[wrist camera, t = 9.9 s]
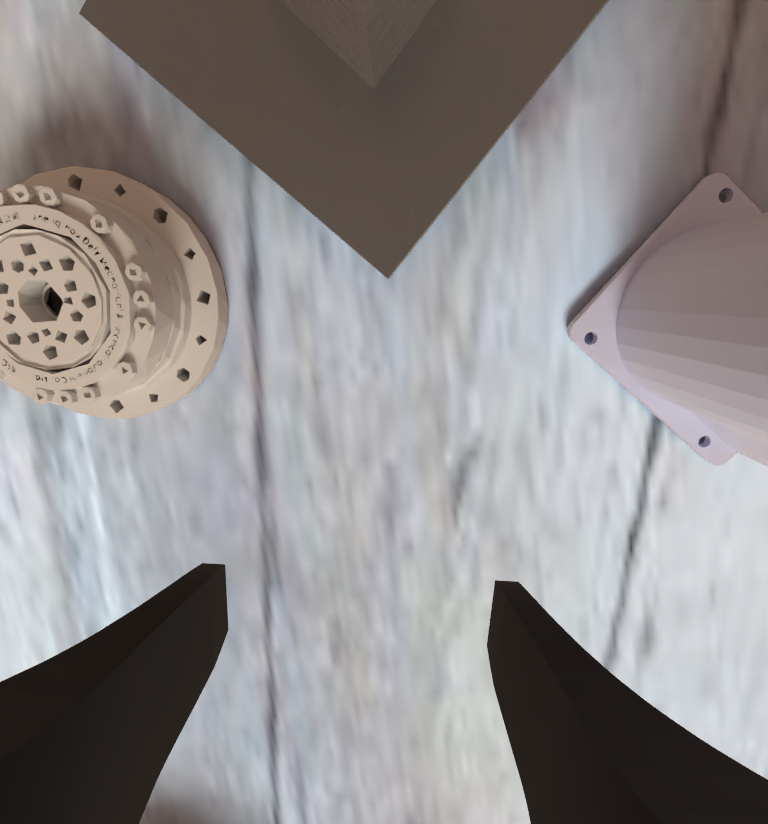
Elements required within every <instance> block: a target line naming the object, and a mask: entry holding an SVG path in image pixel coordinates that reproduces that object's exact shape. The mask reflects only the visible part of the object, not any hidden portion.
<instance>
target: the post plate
mask: <svg viewBox="0 0 768 824" xmlns="http://www.w3.org/2000/svg"><path fill="white" fill-rule="evenodd" d="M608 1H609V0H437V1H436V2H435V3H434V5H433V6H432V8H431V9H430V11H429V12H428V13H427V15H426V16H425V18H424V19H423V20H422V22H421V23H420V25H419V26H418V27H417V29H416V30H415V32H414V33H413V35H412V36H411V37H410V39H409V40H408V42H407V43H406V44H405V46H404V47H403V49H402V50H401V52H400V53H399V54H398V56H397V57H396V59H395V60H394V61H393V63H392V64H391V66H390V67H389V69H388V70H387V71H386V73H385V74H384V76H383V77H382V78H381V80H380V81H379V83H378V84H377V85H376V87H375V88H372V87H371V86H370V85H369V84H368V83H367V82H366V81H365V80H364V79H363V78H362V77H361V76H360V75H359V74H358V73H356V72H355V71H354V70H353V69H352V68H351V67H350V66H349V65H348V64H347V63H346V62H345V61H344V60H343V59H341V58H340V57H339V56H338V55H337V54H336V53H335V52H334V51H333V50H332V49H331V48H330V47H329V46H328V45H327V44H325V43H324V42H323V41H322V40H321V39H320V38H319V37H318V36H317V35H316V34H315V33H314V32H313V31H312V30H311V29H309V28H308V27H307V26H306V25H305V24H304V23H303V22H302V21H301V20H300V19H299V18H298V17H297V16H296V15H294V14H293V13H292V12H291V11H290V10H289V9H288V8H287V7H286V6H285V5H284V4H283V3H282V2H281V1H280V0H86V1H85V3H84V5H83V7H82V9H81V11H80V14H81V15H82V16H83V17H84V18H85V19H86V20H88V21H89V22H90V23H91V24H92V25H93V26H94V27H95V28H97V29H98V30H99V31H100V32H101V33H102V34H103V35H105V36H106V37H107V38H108V39H109V40H110V41H112V42H113V43H114V44H115V45H116V46H117V47H119V48H120V49H121V50H122V51H123V52H124V53H126V54H127V55H128V56H129V57H130V58H131V59H133V60H134V61H135V62H136V63H137V64H138V65H140V66H141V67H142V68H143V69H144V70H145V71H147V72H148V73H149V74H150V75H151V76H152V77H154V78H155V79H156V80H157V81H158V82H159V83H161V84H162V85H163V86H164V87H165V88H166V89H167V90H169V91H170V92H171V93H172V94H173V95H174V96H176V97H177V98H178V99H179V100H180V101H181V102H183V103H184V104H185V105H186V106H187V107H188V108H190V109H191V110H192V111H193V112H194V113H195V114H197V115H198V116H199V117H200V118H201V119H202V120H204V121H205V122H206V123H207V124H208V125H209V126H211V127H212V128H213V129H214V130H215V131H216V132H218V133H219V134H220V135H221V136H222V137H223V138H225V139H226V140H227V141H228V142H229V143H230V144H232V145H233V146H234V147H235V148H236V149H237V150H239V151H240V152H241V153H242V154H243V155H244V156H246V157H247V158H248V159H249V160H250V161H251V162H253V163H254V164H255V165H256V166H257V167H258V168H260V169H261V170H262V171H263V172H264V173H265V174H267V175H268V176H269V177H270V178H271V179H272V180H273V181H275V182H276V183H277V184H278V185H279V186H280V187H282V188H283V189H284V190H285V191H286V192H287V193H289V194H290V195H291V196H292V197H293V198H294V199H296V200H297V201H298V202H299V203H300V204H301V205H303V206H304V207H305V208H306V209H307V210H308V211H310V212H311V213H312V214H313V215H314V216H315V217H317V218H318V219H319V220H320V221H321V222H322V223H324V224H325V225H326V226H327V227H328V228H329V229H331V230H332V231H333V232H334V233H335V234H336V235H338V236H339V237H340V238H341V239H342V240H343V241H345V242H346V243H347V244H348V245H349V246H350V247H352V248H353V249H354V250H355V251H356V252H357V253H359V254H360V255H361V256H362V257H363V258H364V259H366V260H367V261H368V262H369V263H370V264H371V265H373V266H374V267H375V268H376V269H377V270H378V271H379V272H381V273H382V274H383V275H384V276H385V277H386V278H388V279H389V278H390V277H391V275H392V274H393V273H394V272H395V270H396V269H397V268H398V267H399V265H400V264H401V263H402V262H403V260H404V259H405V258H406V256H407V255H408V254H409V253H410V251H411V250H412V249H413V248H414V246H415V245H416V244H417V243H418V241H419V240H420V239H421V237H422V236H423V235H424V234H425V232H426V231H427V230H428V229H429V227H430V226H431V225H432V224H433V222H434V221H435V220H436V218H437V217H438V216H439V215H440V213H441V212H442V211H443V210H444V208H445V207H446V206H447V205H448V203H449V202H450V201H451V200H452V198H453V197H454V196H455V194H456V193H457V192H458V191H459V189H460V188H461V187H462V186H463V184H464V183H465V182H466V181H467V179H468V178H469V177H470V175H471V174H472V173H473V172H474V170H475V169H476V168H477V167H478V165H479V164H480V163H481V162H482V160H483V159H484V158H485V156H486V155H487V154H488V153H489V151H490V150H491V149H492V148H493V146H494V145H495V144H496V143H497V141H498V140H499V139H500V138H501V136H502V135H503V134H504V132H505V131H506V130H507V129H508V127H509V126H510V125H511V124H512V122H513V121H514V120H515V119H516V117H517V116H518V115H519V113H520V112H521V111H522V110H523V108H524V107H525V106H526V105H527V103H528V102H529V101H530V100H531V98H532V97H533V96H534V94H535V93H536V92H537V91H538V89H539V88H540V87H541V86H542V84H543V83H544V82H545V81H546V79H547V78H548V77H549V76H550V74H551V73H552V72H553V70H554V69H555V68H556V67H557V65H558V64H559V63H560V62H561V60H562V59H563V58H564V57H565V55H566V54H567V53H568V51H569V50H570V49H571V48H572V46H573V45H574V44H575V43H576V41H577V40H578V39H579V38H580V36H581V35H582V34H583V32H584V31H585V30H586V29H587V27H588V26H589V25H590V24H591V22H592V21H593V20H594V19H595V17H596V16H597V15H598V14H599V12H600V11H601V10H602V8H603V7H604V6H605V5H606V3H607V2H608Z"/></svg>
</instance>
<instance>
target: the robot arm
mask: <svg viewBox="0 0 768 824" xmlns="http://www.w3.org/2000/svg"><path fill="white" fill-rule="evenodd" d="M721 190H722V191H724V192H725V194H726V198H725V200H724V202H721V201H720V200H719V193H720V192H721ZM589 332H592V334H593V340H592V342H590V343H589V344H586V342H585V341H584V339H585V336H586V334H587V333H589ZM567 334H568V337H569V338H570V339H571V340H572V341H573V342H574V343H575V344H576V345H577V346H578V347H580V348H581V349H582V350H583V351H584V352H585V353H586V354H587V355H588V356H590V357H591V358H592V359H593V360H594V361H595V362H596V363H597V364H598V365H600V366H601V367H602V368H603V369H604V370H605V371H606V372H607V373H608V374H610V375H611V376H612V377H613V378H614V379H615V380H616V381H617V382H618V383H620V384H621V385H622V386H623V387H624V388H625V389H626V390H627V391H628V392H630V393H631V394H632V395H633V396H634V397H635V398H636V399H637V400H638V401H640V402H641V403H642V404H643V405H644V406H645V407H646V408H647V409H648V410H650V411H651V412H652V413H653V414H654V415H655V416H656V417H657V418H658V419H660V420H661V421H662V422H663V423H664V424H665V425H666V426H667V427H668V428H670V429H671V430H672V431H673V432H674V433H675V434H676V435H677V436H678V437H680V438H681V439H682V440H683V441H684V442H685V443H686V444H687V445H688V446H690V447H691V448H692V449H693V450H694V451H695V452H696V453H697V454H698V455H700V456H701V457H702V458H703V459H704V460H705V461H707V462H708V463H710V464H712V465H715V466H720V465H723V464H725V463H726V462H727V461H729V460H730V459H731V458H732V457H733V456H734V455H735V454H736V453H737V452H738V453H740V454H742V455H744V456H746V457H748V458H751V459H753V460H755V461H757V462H759V463H761V464H763V465H766V466H768V212H765V213H763V212H762V211H761V210H760V209H759V208H758V207H757V206H756V205H755V204H754V203H753V202H752V201H751V200H750V199H749V198H748V197H747V196H746V195H745V194H744V193H743V192H742V191H741V190H740V189H739V187H738V186H737V185H736V184H735V183H734V182H733V181H732V180H731V179H730V178H729V177H728V176H727V175H726V174H724V173H721V172H716V173H713V174H710V175H708V176H706V177H705V178H703V179H702V180H701V181H700V182H699V183H698V185H697V186H696V187H695V188H694V189H693V190H692V191H691V192H690V193H689V194H688V195H687V197H686V198H685V199H684V200H683V201H682V202H681V203H680V204H679V205H678V206H677V207H676V208H675V210H674V211H673V212H672V213H671V214H670V215H669V216H668V217H667V218H666V219H665V220H664V221H663V223H662V224H661V225H660V226H659V227H658V228H657V229H656V230H655V231H654V232H653V233H652V234H651V236H650V237H649V238H648V239H647V240H646V241H645V242H644V243H643V244H642V245H641V246H640V247H639V249H638V250H637V251H636V252H635V253H634V254H633V255H632V256H631V257H630V258H629V259H628V260H627V262H626V263H625V264H624V265H623V266H622V267H621V268H620V269H619V270H618V271H617V272H616V273H615V275H614V276H613V277H612V278H611V279H610V280H609V281H608V282H607V283H606V284H605V285H604V286H603V288H602V289H601V290H600V291H599V292H598V293H597V294H596V295H595V296H594V297H593V298H592V300H591V301H590V302H589V303H588V304H587V305H586V306H585V307H584V308H583V309H582V310H581V311H580V313H579V314H578V315H577V316H576V317H575V318H574V319H573V320H572V321H571V322H570V324H569V325H568V328H567ZM703 436H705V440H704V441H703V443H701V444H698V442H699V439H700V438H701V437H703ZM227 632H228V615H227V595H226V575H225V565H222V564H205V563H202V564H201V565H199V566H197V567H196V568H194V569H193V570H191V571H190V572H188V573H187V574H185V575H184V576H182V577H181V578H180V579H178V580H177V581H175V582H174V583H172V584H171V585H170V586H168V587H167V588H165V589H164V590H162V591H161V592H159V593H158V594H156V595H155V596H153V597H152V598H151V599H149V600H148V601H146V602H145V603H143V604H142V605H140V606H139V607H137V608H136V609H134V610H133V611H131V612H129V613H128V614H126V615H125V616H123V617H121V618H120V619H118V620H117V621H115V622H113V623H112V624H110V625H109V626H107V627H105V628H104V629H102V630H101V631H99V632H97V633H96V634H94V635H92V636H91V637H89V638H87V639H85V640H84V641H82V642H80V643H78V644H76V645H75V646H73V647H71V648H69V649H67V650H65V651H63V652H61V653H60V654H58V655H56V656H54V657H52V658H50V659H48V660H46V661H44V662H42V663H40V664H38V665H36V666H34V667H32V668H30V669H27V670H25V671H23V672H21V673H19V674H17V675H14V676H12V677H10V678H8V679H6V680H4V681H1V682H0V824H139V822H140V819H141V817H142V814H143V812H144V810H145V807H146V805H147V802H148V800H149V798H150V795H151V793H152V790H153V788H154V786H155V783H156V781H157V779H158V776H159V774H160V772H161V770H162V768H163V766H164V764H165V762H166V760H167V758H168V756H169V754H170V752H171V750H172V748H173V746H174V744H175V742H176V740H177V738H178V736H179V735H180V733H181V731H182V729H183V727H184V725H185V723H186V721H187V719H188V717H189V715H190V713H191V712H192V710H193V708H194V706H195V704H196V702H197V700H198V698H199V696H200V694H201V692H202V690H203V688H204V686H205V684H206V682H207V681H208V679H209V677H210V675H211V673H212V671H213V669H214V666H215V664H216V661H217V659H218V656H219V653H220V651H221V648H222V645H223V643H224V640H225V637H226V634H227ZM487 648H488V654H489V661H490V667H491V673H492V678H493V684H494V688H495V692H496V695H497V699H498V702H499V706H500V709H501V713H502V716H503V720H504V723H505V727H506V730H507V734H508V737H509V741H510V744H511V747H512V751H513V754H514V758H515V761H516V765H517V768H518V772H519V775H520V778H521V782H522V786H523V790H524V794H525V798H526V802H527V806H528V811H529V816H530V821H531V824H768V780H767V779H765V778H764V777H762V776H760V775H758V774H757V773H755V772H753V771H751V770H750V769H748V768H746V767H745V766H743V765H741V764H740V763H738V762H737V761H735V760H733V759H732V758H730V757H728V756H727V755H725V754H723V753H722V752H720V751H718V750H717V749H715V748H714V747H712V746H710V745H709V744H707V743H706V742H704V741H703V740H701V739H699V738H698V737H696V736H695V735H693V734H692V733H690V732H689V731H687V730H686V729H685V728H683V727H682V726H680V725H679V724H677V723H676V722H674V721H673V720H671V719H670V718H669V717H667V716H666V715H664V714H663V713H661V712H660V711H659V710H657V709H656V708H655V707H653V706H652V705H650V704H649V703H648V702H646V701H645V700H644V699H643V698H641V697H640V696H639V695H637V694H636V693H635V692H634V691H632V690H631V689H630V688H629V687H627V686H626V685H625V684H624V683H622V682H621V681H620V680H618V679H617V678H616V677H615V676H614V675H613V674H611V673H610V672H609V671H608V670H607V669H605V668H604V667H603V666H602V665H601V664H600V663H599V662H598V661H597V660H595V659H594V658H593V657H592V656H591V655H590V654H589V653H588V652H587V651H585V650H584V649H583V648H582V647H581V646H580V645H579V644H578V643H577V642H576V641H575V640H574V639H573V638H572V637H571V636H570V635H569V634H568V633H567V632H566V631H565V630H564V629H563V628H562V627H561V626H560V625H559V624H558V623H557V622H556V621H555V620H554V619H553V618H552V617H551V616H550V615H549V614H548V613H547V612H546V611H545V610H544V608H543V607H542V606H541V605H540V604H539V603H538V602H537V601H536V600H535V599H534V598H533V597H532V596H531V595H530V594H529V592H528V591H527V590H526V589H525V588H524V587H523V586H522V585H521V584H520V583H519V582H511V581H495V586H494V594H493V602H492V610H491V618H490V626H489V634H488V642H487Z"/></svg>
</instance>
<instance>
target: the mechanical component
mask: <svg viewBox="0 0 768 824" xmlns="http://www.w3.org/2000/svg"><path fill="white" fill-rule="evenodd" d="M208 294H210V299H209V302H208ZM227 323H228V302H227V296H226V291H225V286H224V280H223V275H222V270H221V268H220V266H219V264H218V262H217V260H216V257H215V255H214V253H213V251H212V249H211V247H210V245H209V243H208V241H207V239H206V238H205V236H204V235H203V234H202V232H201V231H200V230H199V228H198V227H197V226H196V224H195V223H194V222H193V221H192V219H191V218H190V217H189V216H188V215H187V214H186V213H185V212H183V211H182V210H181V209H180V208H179V207H178V206H177V205H176V204H175V203H174V202H172V201H171V200H170V199H169V198H167V197H165V196H163V195H162V194H160V193H158V192H157V191H155V190H153V189H152V188H150V187H148V186H147V185H145V184H143V183H140V182H138V181H136V180H133V179H131V178H129V177H126V176H124V175H122V174H119V173H117V172H115V171H109V170H102V169H95V168H88V167H81V166H69V167H65V168H60V169H56V170H51V171H47V172H42V173H37V174H34V175H33V176H31V177H30V178H28V179H27V180H25V181H24V182H22V183H21V184H16V185H14V186H13V187H12V188H7V189H5V190H2V191H1V190H0V381H2V382H4V383H5V384H6V385H8V386H9V387H11V388H13V389H15V390H17V391H19V392H21V393H23V394H25V395H26V396H29V397H32V398H33V399H34V400H35V401H36V402H37V403H38V404H44V403H48V402H49V403H52V404H60V405H62V406H64V407H66V408H69V409H71V410H73V411H75V412H78V413H82V414H86V415H91V416H95V417H99V418H133V417H137V416H140V415H144V414H148V413H151V412H155V411H159V410H161V409H163V408H165V407H167V406H169V405H171V404H173V403H175V402H176V401H178V400H179V399H181V398H183V397H184V396H186V395H188V394H189V393H191V392H193V391H194V390H195V388H196V387H197V386H198V385H199V384H200V383H201V381H202V380H203V379H204V378H205V377H206V376H207V375H208V373H209V372H210V371H211V370H212V368H213V366H214V364H215V362H216V360H217V358H218V356H219V354H220V351H221V349H222V347H223V343H224V339H225V334H226V330H227ZM188 371H189V372H190V373H189V372H188Z"/></svg>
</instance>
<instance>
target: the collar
mask: <svg viewBox="0 0 768 824" xmlns="http://www.w3.org/2000/svg"><path fill="white" fill-rule="evenodd" d="M280 1H281V2H282V3H283V4H284V5H285V6H286V7H287V8H288V9H289V10H290V11H291V12H292V13H293V14H294V15H296V16H297V17H298V18H299V19H300V20H301V21H302V22H303V23H304V24H305V25H306V26H307V27H308V28H309V29H311V30H312V31H313V32H314V33H315V34H316V35H317V36H318V37H319V38H320V39H321V40H322V41H323V42H324V43H325V44H327V45H328V46H329V47H330V48H331V49H332V50H333V51H334V52H335V53H336V54H337V55H338V56H339V57H340V58H341V59H343V60H344V61H345V62H346V63H347V64H348V65H349V66H350V67H351V68H352V69H353V70H354V71H355V72H356V73H358V74H359V75H360V76H361V77H362V78H363V79H364V80H365V81H366V82H367V83H368V84H369V85H370V86H371V87H372V88H375V87H376V85H377V84H378V83H379V81H380V80H381V78H382V77H383V76H384V74H385V73H386V71H387V70H388V69H389V67H390V66H391V64H392V63H393V61H394V60H395V59H396V57H397V56H398V54H399V53H400V52H401V50H402V49H403V47H404V46H405V44H406V43H407V42H408V40H409V39H410V37H411V36H412V35H413V33H414V32H415V30H416V29H417V27H418V26H419V25H420V23H421V22H422V20H423V19H424V18H425V16H426V15H427V13H428V12H429V11H430V9H431V8H432V6H433V5H434V3H435V2H436V1H437V0H280Z"/></svg>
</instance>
